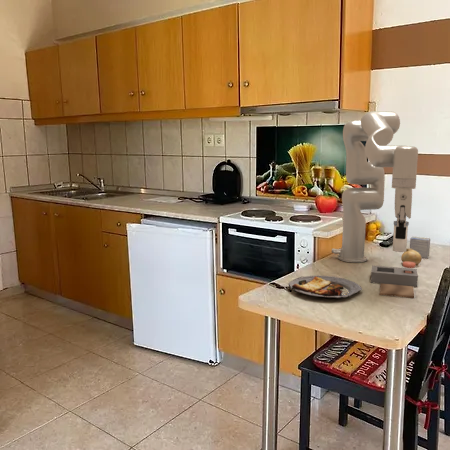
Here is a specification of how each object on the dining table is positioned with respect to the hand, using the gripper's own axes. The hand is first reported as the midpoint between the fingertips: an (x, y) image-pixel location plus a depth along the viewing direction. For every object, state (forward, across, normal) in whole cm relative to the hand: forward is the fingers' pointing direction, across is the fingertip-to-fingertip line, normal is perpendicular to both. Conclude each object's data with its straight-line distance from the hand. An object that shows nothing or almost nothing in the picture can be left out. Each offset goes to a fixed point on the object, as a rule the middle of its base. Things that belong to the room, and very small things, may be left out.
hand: (400, 236), depth 160 cm
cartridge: (+5, 0, 0) cm, 5 cm away
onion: (+20, +40, -6) cm, 45 cm away
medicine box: (+20, +56, -10) cm, 60 cm away
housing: (+19, +13, +1) cm, 23 cm away
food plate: (+20, -7, +24) cm, 32 cm away
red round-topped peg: (+19, +13, -4) cm, 23 cm away
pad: (+20, 0, 0) cm, 20 cm away
